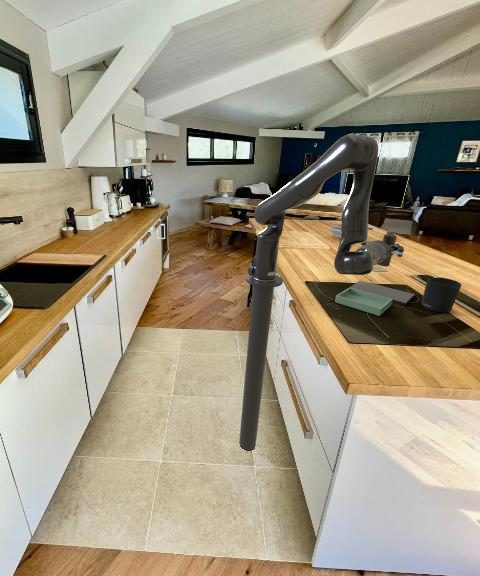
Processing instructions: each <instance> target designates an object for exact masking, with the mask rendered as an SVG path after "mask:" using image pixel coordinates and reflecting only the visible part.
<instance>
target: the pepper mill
mask: <svg viewBox="0 0 480 576" xmlns="http://www.w3.org/2000/svg"><path fill="white" fill-rule="evenodd" d="M396 232H397V231H396V230H390V229H387V231H386V234H383V237H382V241H384V242H386V243H387V244H388V245H389V244H392V245H395V244H396V242H397V238H398V235H396ZM392 257H393V255H390V256H389V257H388V258H387V259H386V260H384V261H383V262H381V263H379V264H377V265H378V266H380V267H390V264H391V262H392V261H391V260H392ZM377 265H376V266H377Z"/></svg>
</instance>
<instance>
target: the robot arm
mask: <svg viewBox="0 0 480 576" xmlns="http://www.w3.org/2000/svg"><path fill="white" fill-rule="evenodd" d="M378 158H379V143H378V142H377V139H376V138H375V137H373V136H369V135H363V134H362V135H361V134H354V133H353V134H351V133H350V134H345V135H343V136H342V137H340V138H339V139H337V140H336V141H335V142H334V143H333V144H332V145H331V146H330V147H329V148H328V149H326V151H325V152H324V153H323V154H322V155H321V156H320V157H319V158H318V159H317V160H316V161H315V162H313V163H311V165H310V166H308V167H307V168H306V169H304V170H303V171H302V172H301V173H299V174H298V175H297V176H295V177H294V178H293V179H292V180H290V181H289V182H288V183H287V184H286V185H284V186H283V187H282V188H280V189H279V190H278V191H277V192H276V193H274V194H273V195H271V196H270V197H268V198H266V199H265V200H263V201H261V202H260V203H259V204H258V205H257V206H256V207H255V210H254V213H253V214H254V215H253V217H254V220H255V222H256V223H257V224H258V225H262V226H266V227H265V228H264V229H263V230H261V231H259V233H257V236H256V249H255V256H253V260H252V265H251V266H248V267H247V269H248V270H247V275H250V276H251V275H252V278H254V279H255V280H257V281H260V282H272V281H275V275H277V274H276V272H277V265H278V258H279V257H278V255H279V247H280V240H281V237H282V235H283V230H284V224H285V217H286V211H288V210H291V209H293V208H297V207H299V206H303V205H304V204H306V203H308V202H309V201H311V200H312V199H313V198H316V197H317V196H318V195H319V193H320V192H321V191H322V189H323V187H324V184H325V182H327V180H328V179H330V178H332V177H333V176H334V175H336V174H338V173H340V172H342V171H352V179H353V180H352V187H351V190H350V193H349V196H348V198H347V200H346V202H345V204H344V207H343V209H342V213H341V217H340V218H341V219H340V225H341V232H342V233H341V239H340V238H339V239H340V240H339V244H338V248H337V250H336V254H335V257H334V261H333V267H334V269H335V271H336V273H337V274H339V275H345V276H346V275H347V276H349V275H350V276H365V275H370V274H371V273H372V272H373V269H374V266H377V264H379V263H381V262H383V261H384V260H386V259H387V258H388V257H389V256H390V255H392V256H393V255H396V256H397V257H398V258H403V255H404V253H405V247H404V246H403V245H401V244H400V243H395V245H392V244H389V245H388V244H387V243H386V242H384V241H383V240H381V239H380V240H379V239H378V240H377V239H376V240H372V241H367V240H368V235H369V229H368V228H369V209H370V199H371V195H372V188H373V184H374V178H375V173H376V169H377V163H378ZM356 244H361V245H360V247H359V248H356V249H355V250H353V251H352V250H351V249H352V247H353V246H354V245H356Z"/></svg>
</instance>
